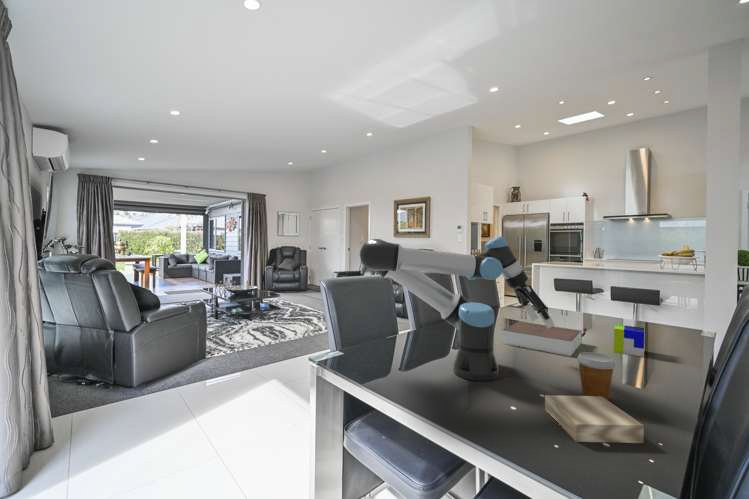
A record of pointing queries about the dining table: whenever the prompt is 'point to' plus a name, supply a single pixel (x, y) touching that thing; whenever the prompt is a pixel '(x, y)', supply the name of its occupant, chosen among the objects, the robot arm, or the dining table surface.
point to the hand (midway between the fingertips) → (542, 322)
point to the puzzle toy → (629, 340)
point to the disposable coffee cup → (595, 373)
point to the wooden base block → (593, 419)
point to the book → (542, 337)
